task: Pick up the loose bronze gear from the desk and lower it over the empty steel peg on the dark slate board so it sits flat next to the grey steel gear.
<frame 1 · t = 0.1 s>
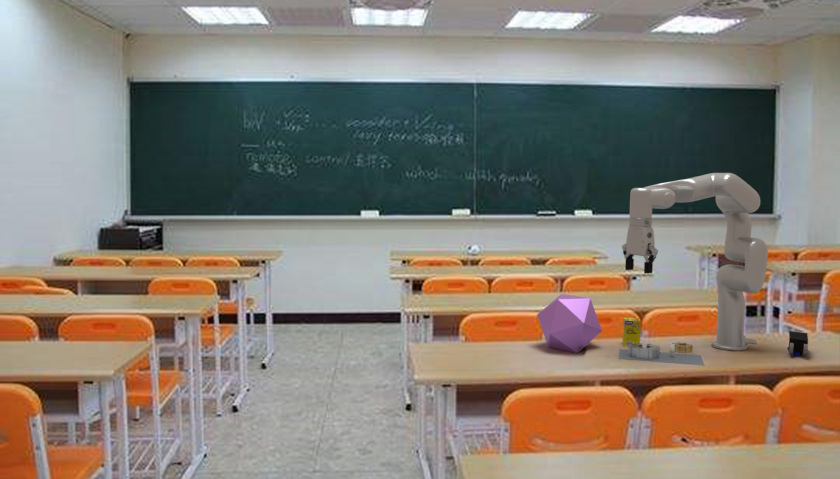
hand: (638, 271, 256), 31 cm above the table, tool pointing down, fingers open, 9 cm apart
supplement box: (631, 348, 275), on the table
figurine character: (797, 355, 266), on the table
steel gear: (644, 356, 257), resting on gear board
icosahedron: (568, 348, 273), on the table
gear board: (660, 360, 256), on the table
bronze gear: (682, 353, 266), on the table
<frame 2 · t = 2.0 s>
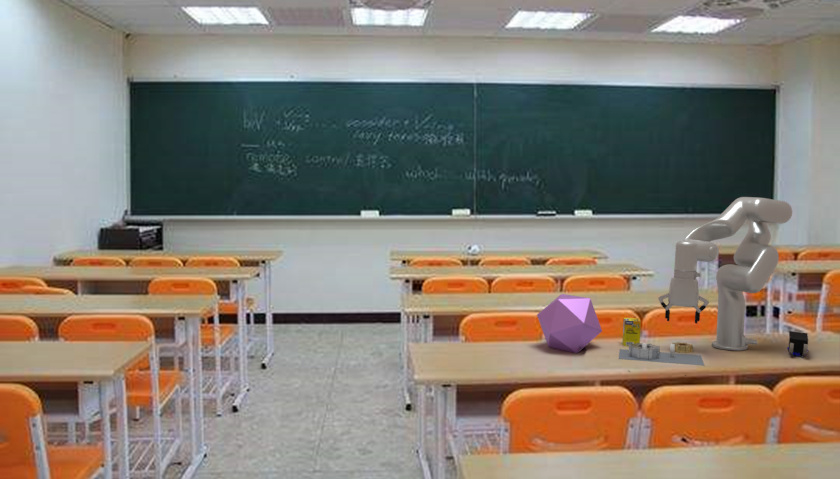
hand: (681, 321, 264), 12 cm above the table, tool pointing down, fingers open, 9 cm apart
nothing on the table moved.
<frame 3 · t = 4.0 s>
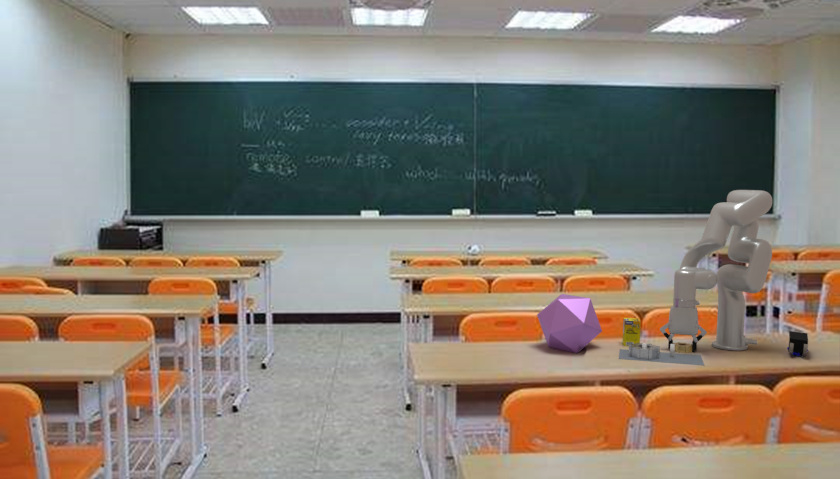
hand: (682, 351, 266), 1 cm above the table, tool pointing down, fingers closed on bronze gear, 7 cm apart
bronze gear: (682, 353, 266), on the table, touching gripper
everything else where it was.
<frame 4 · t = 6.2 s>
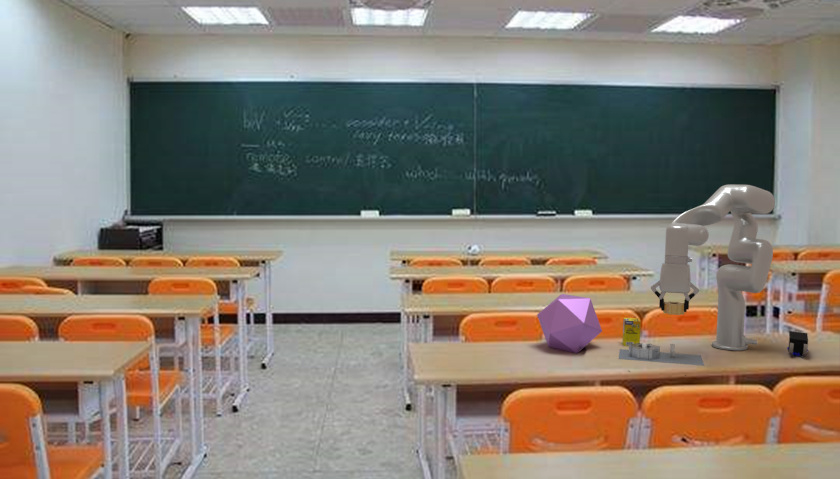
hand: (673, 310, 255), 18 cm above the table, tool pointing down, fingers closed on bronze gear, 7 cm apart
bronze gear: (673, 313, 255), point 17 cm above the table, touching gripper
everything else where it was.
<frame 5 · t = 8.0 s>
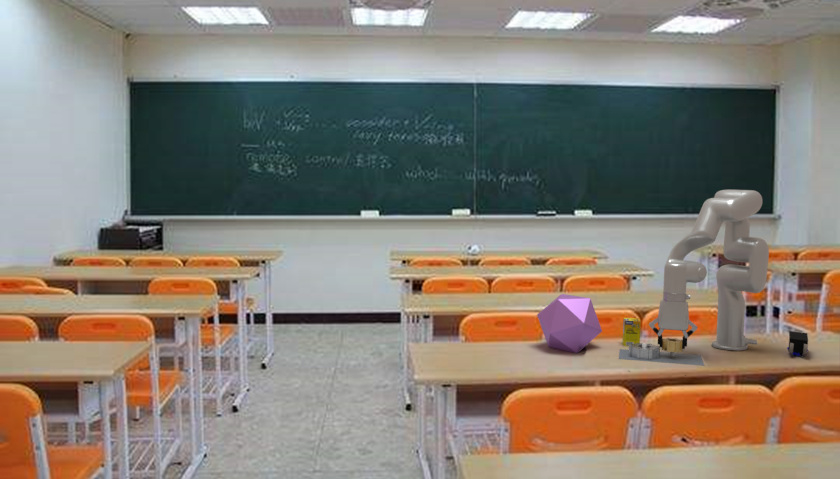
hand: (672, 347, 256), 5 cm above the table, tool pointing down, fingers closed on bronze gear, 7 cm apart
bronze gear: (671, 349, 256), point 4 cm above the table, touching gripper
everything else where it was.
when the fingers open (5 cm above the table, at t = 8.9 s): bronze gear drops 3 cm, resting on gear board.
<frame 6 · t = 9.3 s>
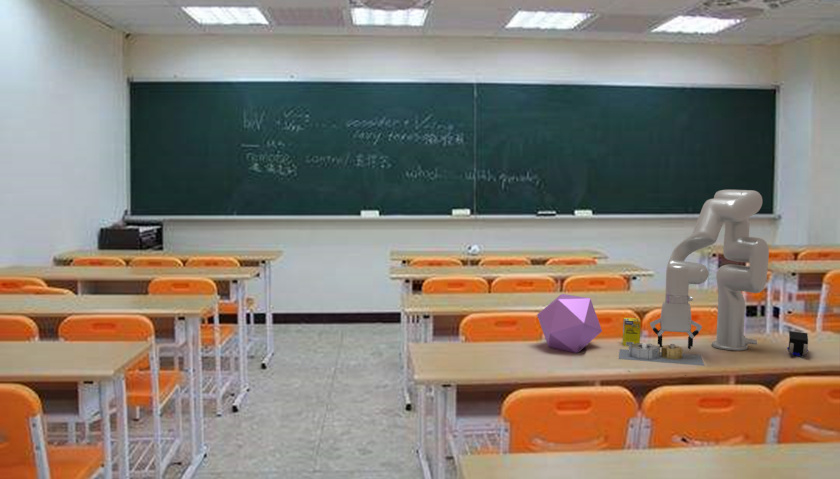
hand: (674, 347, 256), 5 cm above the table, tool pointing down, fingers open, 9 cm apart
bronze gear: (671, 357, 256), point 1 cm above the table, touching gear board, gripper
everything else where it was.
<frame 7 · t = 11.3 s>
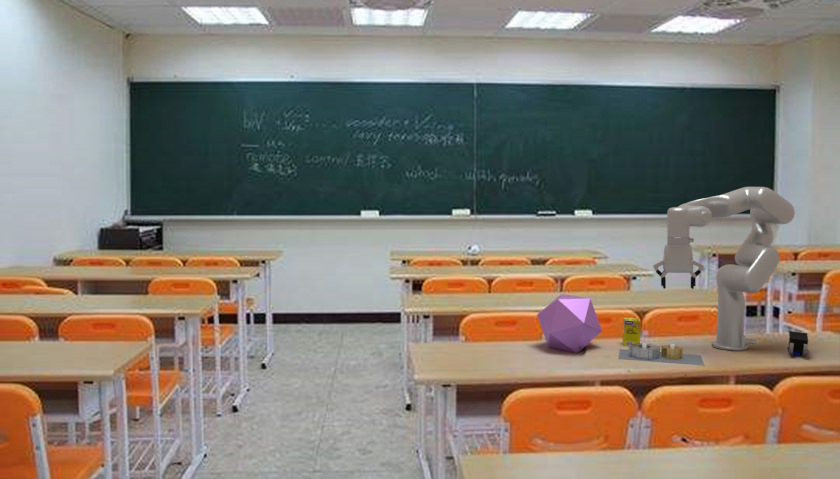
hand: (678, 288, 265), 24 cm above the table, tool pointing down, fingers open, 9 cm apart
bronze gear: (671, 357, 256), point 1 cm above the table, touching gear board
everything else where it was.
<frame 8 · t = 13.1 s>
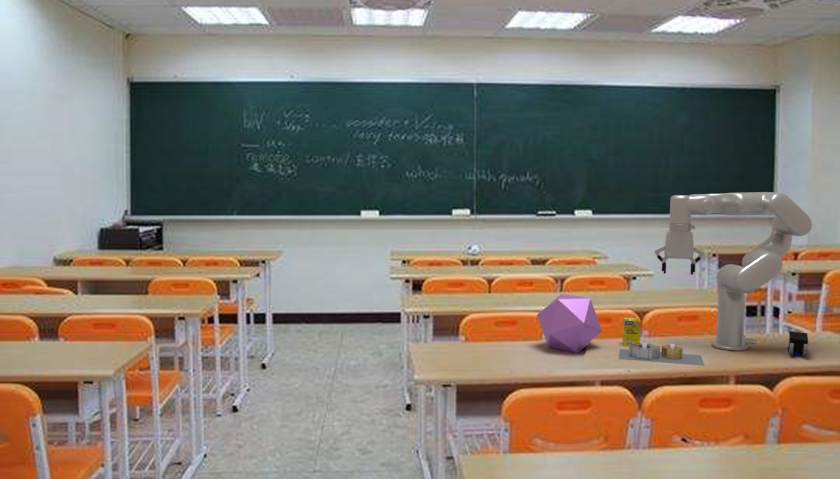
hand: (678, 273, 272), 28 cm above the table, tool pointing down, fingers open, 9 cm apart
nothing on the table moved.
at the end: bronze gear 0.3 cm from the target spot, point 1.2 cm above the table; bronze gear tilted 0°; the gripper is holding nothing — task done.
